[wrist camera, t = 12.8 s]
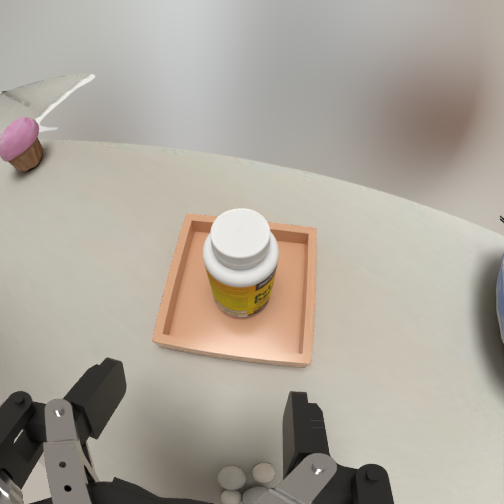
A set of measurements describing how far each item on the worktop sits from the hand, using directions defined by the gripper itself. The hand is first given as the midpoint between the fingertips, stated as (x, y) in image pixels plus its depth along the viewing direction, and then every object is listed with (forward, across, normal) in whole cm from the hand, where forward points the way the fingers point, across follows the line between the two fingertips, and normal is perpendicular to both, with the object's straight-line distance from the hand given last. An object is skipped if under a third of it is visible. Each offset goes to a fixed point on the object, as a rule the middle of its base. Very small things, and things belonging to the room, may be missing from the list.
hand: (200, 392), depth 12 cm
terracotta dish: (+16, 0, +2) cm, 16 cm away
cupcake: (+30, +42, -11) cm, 52 cm away
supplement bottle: (+16, 0, +2) cm, 16 cm away
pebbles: (+3, -3, +15) cm, 15 cm away
